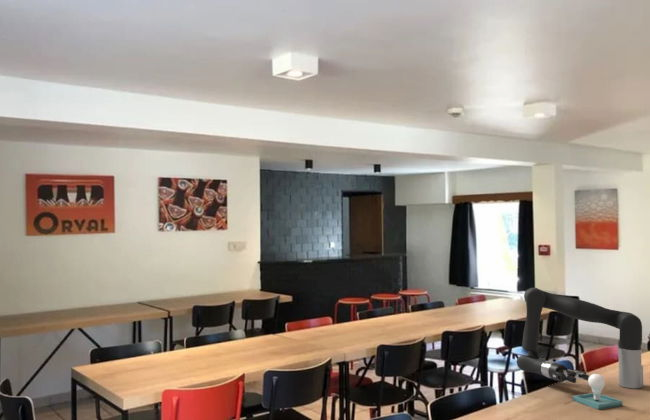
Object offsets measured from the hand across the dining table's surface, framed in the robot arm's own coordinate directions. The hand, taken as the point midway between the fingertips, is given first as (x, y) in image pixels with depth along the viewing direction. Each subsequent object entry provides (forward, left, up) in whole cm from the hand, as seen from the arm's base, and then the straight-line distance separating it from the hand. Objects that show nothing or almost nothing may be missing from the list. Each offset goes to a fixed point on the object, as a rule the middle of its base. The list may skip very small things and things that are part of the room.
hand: (583, 379), depth 239 cm
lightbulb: (0, +7, -7) cm, 10 cm away
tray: (0, +7, -8) cm, 11 cm away
